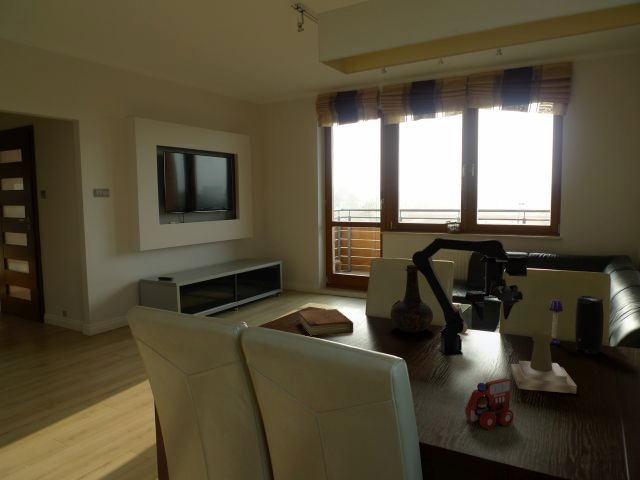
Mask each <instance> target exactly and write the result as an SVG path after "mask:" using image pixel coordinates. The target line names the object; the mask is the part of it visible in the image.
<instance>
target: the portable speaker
mask: <svg viewBox="0 0 640 480" xmlns="http://www.w3.org/2000/svg"><path fill="white" fill-rule="evenodd" d="M604 313H605V312H604V299H603V298H602V297H595V296H591V295H579V296H578V297H577V300H576V307H575V321H574V322H575V325H574V326H575V328H574V329H575V330H574V331H575V336H574V337H575V350H576V351H579V350H580V351H582V352H584V353H585V354H587V355H598V354H599V353H600V352H601V351H602V349H603V348H602V346H603V340H604V339H603V338H604V323H605V322H604V317H605V314H604Z"/></svg>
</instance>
